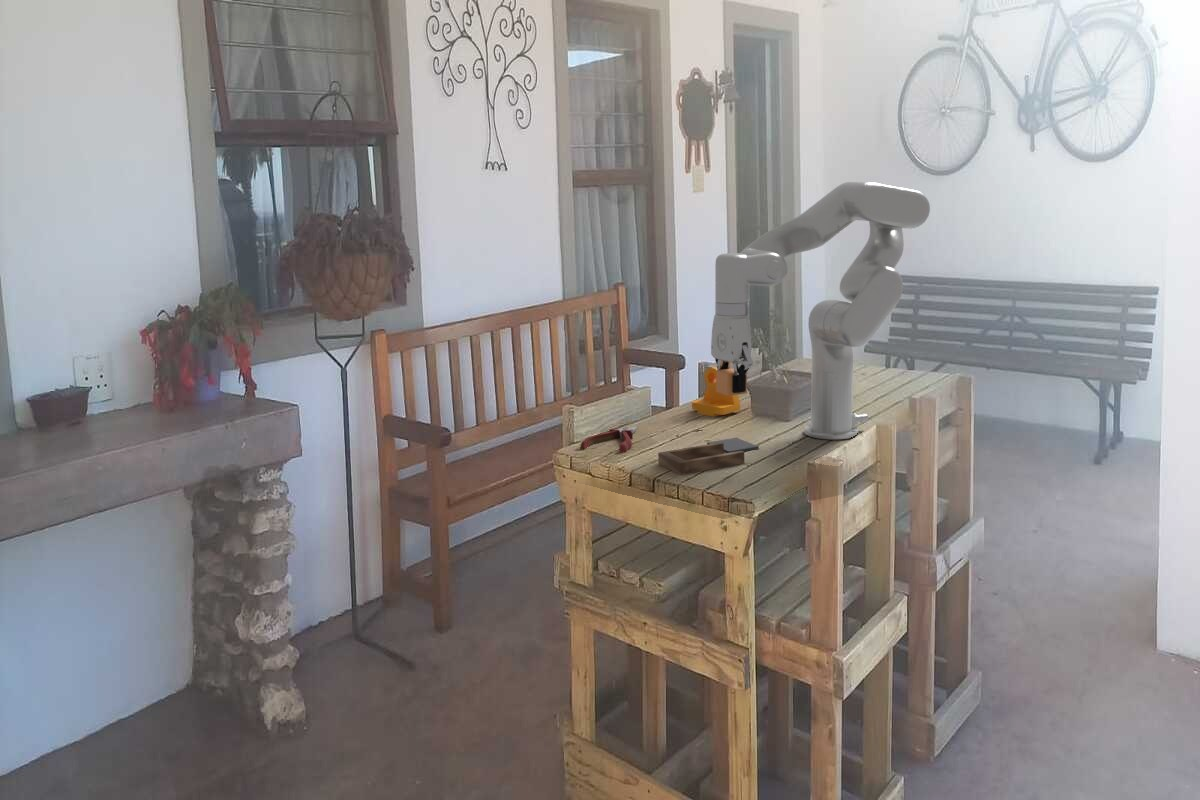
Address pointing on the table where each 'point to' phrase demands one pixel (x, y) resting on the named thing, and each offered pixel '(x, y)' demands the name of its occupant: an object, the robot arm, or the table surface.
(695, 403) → the bracket
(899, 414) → the table surface
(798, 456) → the table surface
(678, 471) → the brown wooden tray
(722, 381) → the orange block
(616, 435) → the pliers
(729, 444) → the rubber mat
